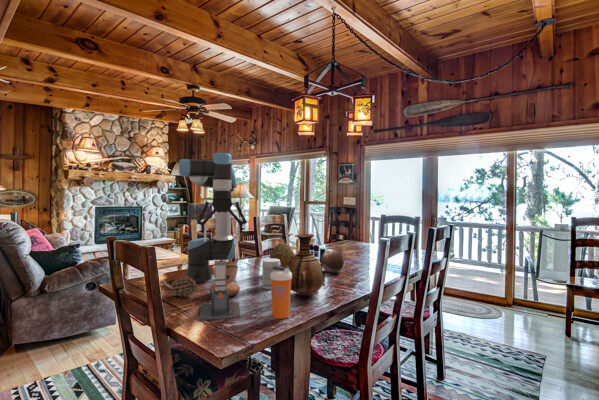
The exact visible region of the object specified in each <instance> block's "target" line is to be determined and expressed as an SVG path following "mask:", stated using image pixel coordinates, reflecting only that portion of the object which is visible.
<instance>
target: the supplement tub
mask: <svg viewBox="0 0 599 400" xmlns="http://www.w3.org/2000/svg"><path fill="white" fill-rule="evenodd" d="M269 258H270V257H269ZM269 258H263V260H262V264H261V267H262V271H261V272H262V275H261V276H262V277H261V278H262V281H261V282H262V285H261V286H262V288H263V289H265V290H270V291H271V279H270V274H271V272H272V271H273V268H272V267H274V266H280V260H279V259H274V258H270V259H269Z"/></svg>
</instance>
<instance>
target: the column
mask: <svg viewBox="0 0 599 400" xmlns="http://www.w3.org/2000/svg"><path fill="white" fill-rule="evenodd" d="M227 264H228V262H227V260H214V265H215V266H216V277H214V280H215V281H214V283H215V294H219V293H221V292H222V293H226V288H225V287H226V282H225V281H226V276H225V268H226V265H227Z"/></svg>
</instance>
